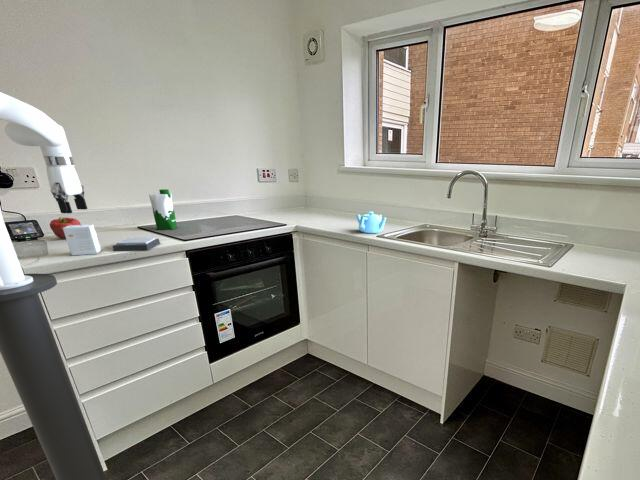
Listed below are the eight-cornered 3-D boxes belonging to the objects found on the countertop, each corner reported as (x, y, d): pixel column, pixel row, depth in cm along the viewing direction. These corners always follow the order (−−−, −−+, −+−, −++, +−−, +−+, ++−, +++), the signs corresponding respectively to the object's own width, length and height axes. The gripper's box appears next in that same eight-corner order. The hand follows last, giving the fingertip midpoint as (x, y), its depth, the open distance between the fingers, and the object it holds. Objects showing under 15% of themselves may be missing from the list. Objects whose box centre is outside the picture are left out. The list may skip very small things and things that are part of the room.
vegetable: (81, 239, 156) (75, 217, 153) (50, 241, 151) (43, 218, 148) (86, 235, 165) (80, 213, 161) (57, 236, 160) (50, 214, 156)
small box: (101, 250, 140) (94, 224, 136) (97, 254, 135) (89, 226, 132) (76, 252, 137) (67, 225, 133) (71, 255, 132) (62, 227, 128)
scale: (147, 250, 143) (146, 243, 142) (113, 251, 140) (111, 243, 139) (159, 243, 155) (158, 237, 154) (128, 244, 152) (127, 237, 151)
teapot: (356, 229, 205) (355, 210, 201) (381, 228, 208) (381, 210, 204) (359, 233, 191) (359, 213, 187) (386, 233, 194) (386, 213, 190)
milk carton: (173, 230, 184) (165, 190, 176) (154, 230, 181) (145, 190, 174) (179, 227, 191) (172, 189, 184) (160, 227, 189) (152, 188, 182)
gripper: (62, 161, 131) (76, 207, 137) (29, 162, 116) (47, 214, 122) (85, 161, 133) (99, 208, 139) (56, 163, 117) (73, 214, 124)
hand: (74, 211), depth 131 cm, fingers open, 9 cm apart
